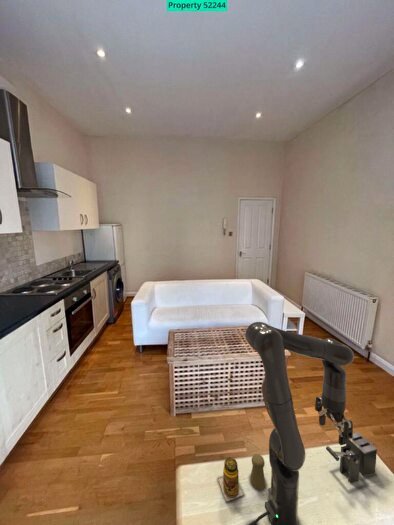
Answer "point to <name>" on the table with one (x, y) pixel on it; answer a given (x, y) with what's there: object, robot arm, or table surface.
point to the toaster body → (363, 453)
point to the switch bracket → (350, 465)
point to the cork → (257, 472)
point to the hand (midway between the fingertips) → (331, 433)
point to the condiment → (230, 480)
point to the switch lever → (339, 453)
